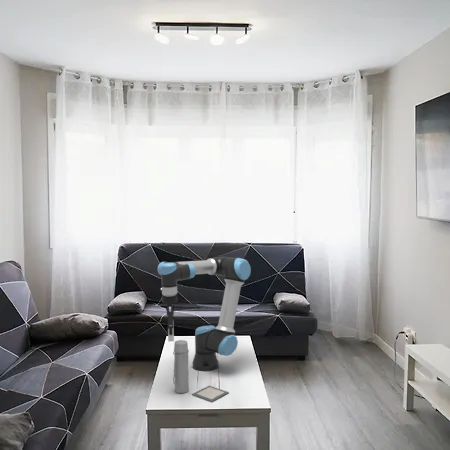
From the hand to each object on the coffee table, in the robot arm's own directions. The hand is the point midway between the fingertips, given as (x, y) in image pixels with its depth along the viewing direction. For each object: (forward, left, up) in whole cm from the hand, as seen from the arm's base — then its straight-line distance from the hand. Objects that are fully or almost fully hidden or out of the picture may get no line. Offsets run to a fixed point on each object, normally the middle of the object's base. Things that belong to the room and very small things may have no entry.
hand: (171, 336), depth 225 cm
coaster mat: (-10, +17, -28) cm, 34 cm away
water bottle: (-3, +3, -29) cm, 29 cm away
